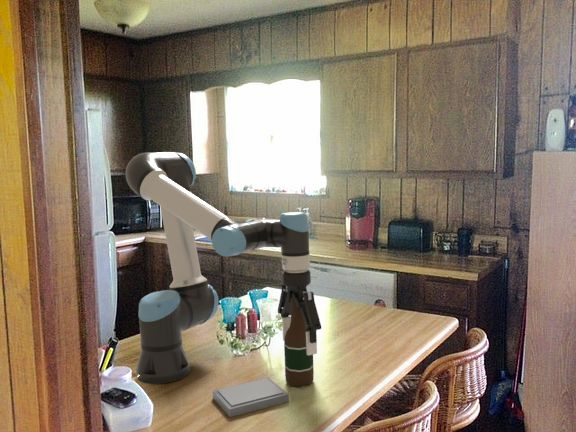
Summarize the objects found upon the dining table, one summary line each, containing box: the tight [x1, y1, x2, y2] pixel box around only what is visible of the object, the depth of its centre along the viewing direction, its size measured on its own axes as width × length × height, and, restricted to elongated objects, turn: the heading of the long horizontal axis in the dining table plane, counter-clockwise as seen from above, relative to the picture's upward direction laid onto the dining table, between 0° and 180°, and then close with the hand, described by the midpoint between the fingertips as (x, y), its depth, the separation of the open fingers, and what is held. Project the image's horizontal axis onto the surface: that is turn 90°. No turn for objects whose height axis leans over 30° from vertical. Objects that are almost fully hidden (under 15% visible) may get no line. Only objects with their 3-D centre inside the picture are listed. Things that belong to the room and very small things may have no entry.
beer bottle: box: [283, 297, 315, 389], centre depth 146 cm, size 8×8×24 cm
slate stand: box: [212, 377, 290, 418], centre depth 137 cm, size 12×16×2 cm
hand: (299, 346), depth 146 cm, fingers open, 13 cm apart
